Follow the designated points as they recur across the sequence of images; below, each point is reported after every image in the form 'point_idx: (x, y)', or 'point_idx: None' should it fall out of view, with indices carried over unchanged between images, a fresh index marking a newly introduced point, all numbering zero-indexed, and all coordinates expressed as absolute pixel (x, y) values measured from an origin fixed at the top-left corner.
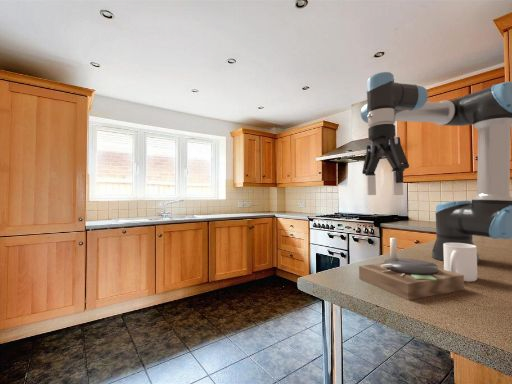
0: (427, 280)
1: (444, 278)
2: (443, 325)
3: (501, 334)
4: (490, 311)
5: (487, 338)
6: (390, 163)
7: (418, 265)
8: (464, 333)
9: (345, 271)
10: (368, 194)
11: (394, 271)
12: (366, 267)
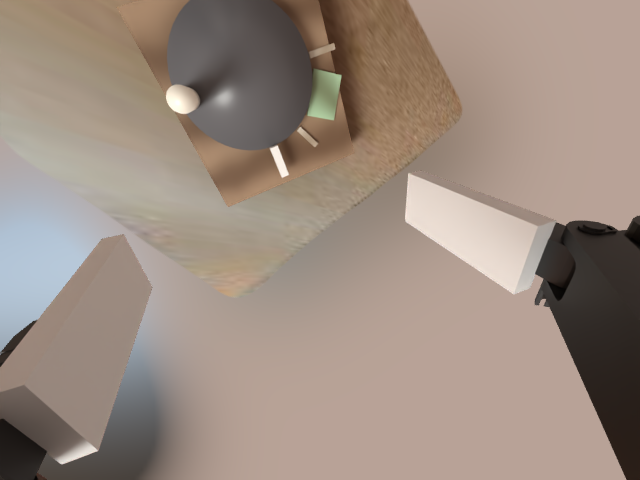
0: (339, 98)
1: (334, 45)
2: (416, 145)
3: (447, 86)
4: (397, 28)
5: (448, 114)
6: (582, 355)
7: (264, 62)
8: (435, 133)
9: (164, 215)
10: (150, 289)
11: None
12: (240, 193)
